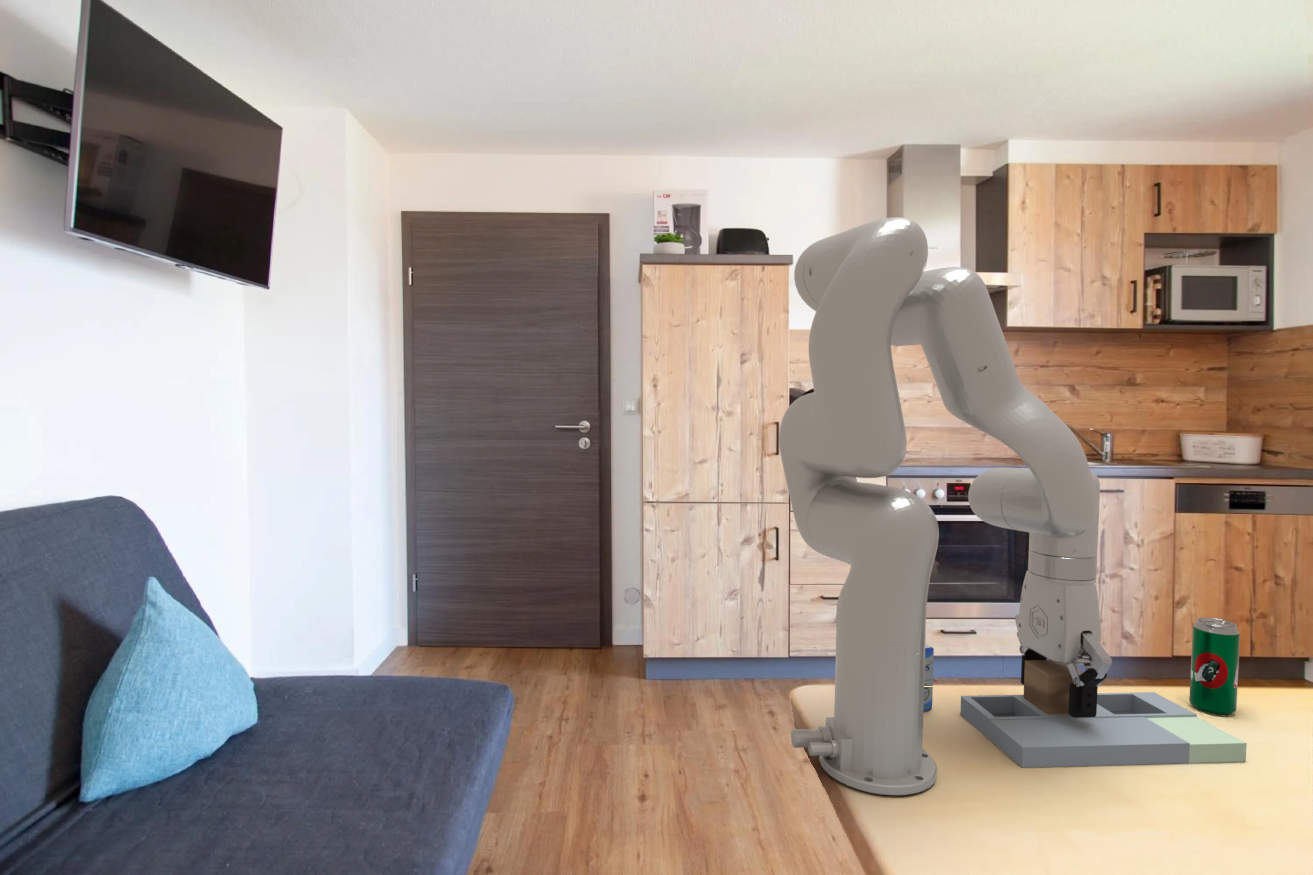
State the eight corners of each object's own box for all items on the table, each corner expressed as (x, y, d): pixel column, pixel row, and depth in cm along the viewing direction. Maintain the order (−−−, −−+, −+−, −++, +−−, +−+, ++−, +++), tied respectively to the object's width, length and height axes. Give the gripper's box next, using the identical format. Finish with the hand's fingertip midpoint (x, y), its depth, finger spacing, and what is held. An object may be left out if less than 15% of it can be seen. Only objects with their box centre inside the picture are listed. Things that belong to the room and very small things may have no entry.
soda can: (1244, 718, 95) (1249, 629, 94) (1201, 715, 96) (1205, 626, 95) (1222, 703, 100) (1227, 617, 99) (1181, 699, 101) (1185, 615, 100)
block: (1046, 714, 90) (1048, 674, 89) (1023, 697, 95) (1024, 660, 94) (1085, 713, 90) (1086, 673, 90) (1059, 696, 95) (1061, 659, 95)
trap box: (1022, 767, 81) (1023, 745, 81) (960, 714, 95) (961, 695, 95) (1245, 761, 83) (1246, 740, 83) (1153, 710, 97) (1154, 691, 97)
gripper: (995, 552, 99) (991, 674, 100) (1079, 583, 82) (1073, 731, 83) (1047, 552, 100) (1042, 673, 101) (1141, 583, 83) (1134, 729, 83)
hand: (1056, 699), depth 92 cm, fingers open, 9 cm apart
